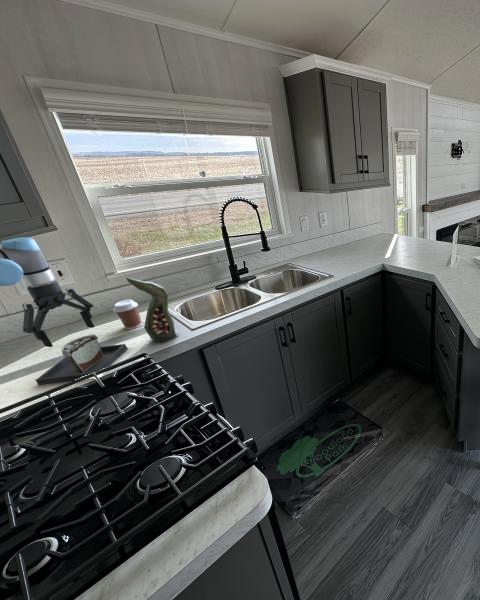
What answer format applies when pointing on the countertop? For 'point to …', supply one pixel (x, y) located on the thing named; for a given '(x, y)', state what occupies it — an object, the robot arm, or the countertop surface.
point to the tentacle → (156, 311)
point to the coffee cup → (128, 313)
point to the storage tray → (68, 372)
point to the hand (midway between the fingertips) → (71, 336)
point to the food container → (83, 352)
